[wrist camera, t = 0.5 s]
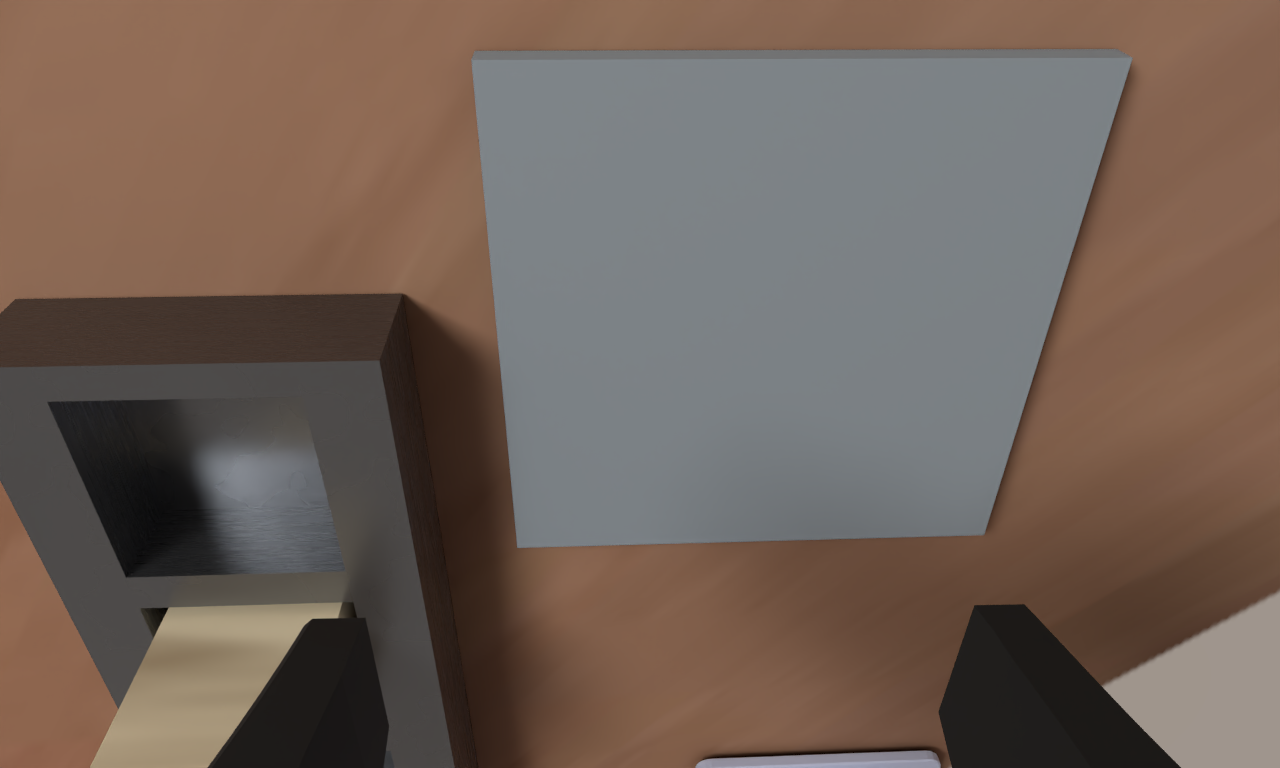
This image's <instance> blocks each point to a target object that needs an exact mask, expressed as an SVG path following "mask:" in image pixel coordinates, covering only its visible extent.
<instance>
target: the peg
mask: <svg viewBox="0 0 1280 768" xmlns="http://www.w3.org/2000/svg"><path fill="white" fill-rule="evenodd" d="M322 618H357V615H356V611H355V607H354V603H353V602H338V603H304V604H271V605H237V606H203V607H170V608H168V610H167V612H166V614H165V616H164V618H163V620H162V622H161V624H160V626H159V628H158V630H157V632H156V634H155V637H154V639H153V641H152V643H151V645H150V647H149V649H148V651H147V653H146V655H145V657H144V659H143V661H142V663H141V665H140V667H139V669H138V671H137V673H136V675H135V677H134V679H133V681H132V683H131V685H130V687H129V689H128V691H127V693H126V695H125V697H124V699H123V701H122V703H121V706H120V708H119V710H118V712H117V714H116V716H115V718H114V720H113V722H112V724H111V726H110V728H109V730H108V732H107V734H106V736H105V738H104V740H103V742H102V744H101V746H100V748H99V750H98V752H97V754H96V756H95V758H94V760H93V762H92V764H91V766H90V768H207V767H208V766H209V765H210V763H211V762H212V761H213V759H214V758H215V757H216V755H217V754H218V752H219V751H220V750H221V748H222V747H223V746H224V744H225V743H226V741H227V740H228V739H229V737H230V736H231V735H232V733H233V732H234V730H235V729H236V728H237V726H238V725H239V723H240V722H241V720H242V719H243V717H244V716H245V715H246V713H247V712H248V710H249V709H250V707H251V706H252V704H253V703H254V702H255V700H256V699H257V697H258V696H259V694H260V693H261V691H262V690H263V688H264V687H265V685H266V684H267V682H268V681H269V679H270V678H271V676H272V675H273V673H274V672H275V670H276V669H277V667H278V666H279V664H280V663H281V661H282V660H283V658H284V656H285V655H286V653H287V652H288V650H289V649H290V647H291V646H292V644H293V642H294V641H295V639H296V638H297V636H298V635H299V633H300V631H301V630H302V628H303V627H304V625H305V624H307V623H308V622H309V621H310V620H311V619H322Z"/></svg>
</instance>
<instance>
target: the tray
mask: <svg viewBox="0 0 1280 768" xmlns="http://www.w3.org/2000/svg"><path fill="white" fill-rule="evenodd" d="M0 481H1V483H2V485H3V487H4V489H5V491H6V493H7V495H8V496H9V498H10V500H11V502H12V504H13V506H14V508H15V510H16V512H17V514H18V516H19V518H20V520H21V522H22V524H23V525H24V527H25V529H26V531H27V533H28V535H29V537H30V539H31V541H32V543H33V545H34V547H35V549H36V551H37V553H38V554H39V556H40V558H41V560H42V562H43V564H44V566H45V568H46V570H47V572H48V574H49V576H50V578H51V580H52V582H53V583H54V585H55V587H56V589H57V591H58V593H59V595H60V597H61V599H62V601H63V603H64V605H65V607H66V609H67V611H68V612H69V614H70V616H71V618H72V620H73V622H74V624H75V626H76V628H77V630H78V632H79V634H80V636H81V638H82V640H83V642H84V643H85V645H86V647H87V649H88V651H89V653H90V655H91V657H92V659H93V661H94V663H95V665H96V667H97V669H98V671H99V672H100V674H101V676H102V678H103V680H104V682H105V684H106V686H107V688H108V690H109V692H110V694H111V696H112V698H113V700H114V701H115V703H116V705H117V707H118V709H119V708H120V706H121V703H122V701H123V699H124V697H125V695H126V693H127V691H128V689H129V687H130V685H131V683H132V681H133V679H134V677H135V675H136V673H137V671H138V669H139V667H140V665H141V663H142V661H143V659H144V657H145V655H146V653H147V651H148V649H149V647H150V645H151V643H152V641H153V639H154V637H155V634H156V632H157V630H158V628H159V626H160V624H161V622H162V620H163V618H164V616H165V614H166V612H167V610H168V608H170V607H203V606H237V605H271V604H304V603H338V602H353V603H354V607H355V611H356V615H357V618H366V622H367V627H368V631H369V636H370V641H371V645H372V650H373V654H374V659H375V663H376V668H377V673H378V677H379V682H380V686H381V691H382V696H383V700H384V705H385V709H386V714H387V719H388V723H389V731H388V739H387V746H386V754H385V761H384V768H478V764H477V758H476V752H475V746H474V739H473V733H472V727H471V721H470V714H469V708H468V702H467V695H466V689H465V683H464V677H463V670H462V664H461V658H460V652H459V645H458V639H457V633H456V626H455V620H454V614H453V608H452V601H451V595H450V589H449V583H448V576H447V570H446V564H445V557H444V551H443V545H442V539H441V532H440V526H439V520H438V514H437V507H436V501H435V495H434V488H433V482H432V476H431V470H430V463H429V457H428V451H427V445H426V438H425V432H424V426H423V419H422V413H421V407H420V401H419V394H418V388H417V382H416V376H415V369H414V363H413V357H412V350H411V344H410V338H409V332H408V325H407V319H406V313H405V307H404V300H403V294H347V295H279V296H211V297H143V298H75V299H15V300H14V301H13V302H12V303H11V304H10V305H9V306H8V307H7V308H6V309H5V310H4V311H3V312H1V313H0Z"/></svg>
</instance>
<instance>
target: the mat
mask: <svg viewBox="0 0 1280 768" xmlns="http://www.w3.org/2000/svg"><path fill="white" fill-rule="evenodd" d="M471 61H472V71H473V82H474V93H475V103H476V114H477V124H478V135H479V146H480V156H481V167H482V178H483V188H484V199H485V209H486V220H487V231H488V241H489V252H490V263H491V273H492V284H493V294H494V305H495V316H496V326H497V337H498V347H499V358H500V369H501V379H502V390H503V401H504V411H505V422H506V432H507V443H508V454H509V464H510V475H511V485H512V496H513V507H514V517H515V528H516V539H517V548H529V547H565V546H602V545H639V544H675V543H712V542H748V541H785V540H822V539H858V538H895V537H931V536H968V535H984V534H985V530H986V527H987V524H988V521H989V518H990V514H991V511H992V508H993V505H994V501H995V498H996V495H997V492H998V489H999V485H1000V482H1001V479H1002V476H1003V473H1004V469H1005V466H1006V463H1007V460H1008V457H1009V453H1010V450H1011V447H1012V444H1013V440H1014V437H1015V434H1016V431H1017V428H1018V424H1019V421H1020V418H1021V415H1022V412H1023V408H1024V405H1025V402H1026V399H1027V396H1028V392H1029V389H1030V386H1031V383H1032V379H1033V376H1034V373H1035V370H1036V367H1037V363H1038V360H1039V357H1040V354H1041V351H1042V347H1043V344H1044V341H1045V338H1046V335H1047V331H1048V328H1049V325H1050V322H1051V318H1052V315H1053V312H1054V309H1055V306H1056V302H1057V299H1058V296H1059V293H1060V290H1061V286H1062V283H1063V280H1064V277H1065V274H1066V270H1067V267H1068V264H1069V261H1070V257H1071V254H1072V251H1073V248H1074V245H1075V241H1076V238H1077V235H1078V232H1079V229H1080V225H1081V222H1082V219H1083V216H1084V213H1085V209H1086V206H1087V203H1088V200H1089V196H1090V193H1091V190H1092V187H1093V184H1094V180H1095V177H1096V174H1097V171H1098V168H1099V164H1100V161H1101V158H1102V155H1103V152H1104V148H1105V145H1106V142H1107V139H1108V135H1109V132H1110V129H1111V126H1112V123H1113V119H1114V116H1115V113H1116V110H1117V107H1118V103H1119V100H1120V97H1121V94H1122V91H1123V87H1124V84H1125V81H1126V78H1127V74H1128V71H1129V68H1130V65H1131V62H1132V57H1130V56H1128V55H1127V54H1125V53H1123V52H1121V51H1119V50H1118V49H982V50H627V51H475V52H474V55H473V57H472V60H471Z"/></svg>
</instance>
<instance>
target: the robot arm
mask: <svg viewBox="0 0 1280 768" xmlns="http://www.w3.org/2000/svg"><path fill="white" fill-rule="evenodd" d="M939 716H940V720H941V724H942V728H943V732H944V736H945V741H946V745H947V749H948V753H949V757H950V761H951V765H952V768H1181V767H1180V766H1179V765H1178V764H1177V763H1176V762H1175V761H1174V760H1173V759H1172V758H1171V757H1170V756H1168V754H1167V753H1166V752H1165V751H1164V750H1163V749H1162V748H1161V747H1160V746H1159V745H1158V744H1157V743H1156V742H1155V741H1154V740H1153V739H1152V738H1151V737H1150V736H1149V735H1148V734H1147V733H1146V732H1145V731H1144V730H1143V729H1142V728H1141V727H1140V726H1139V725H1138V724H1137V723H1136V722H1135V721H1134V720H1133V719H1132V718H1131V717H1130V716H1129V715H1128V714H1127V713H1126V712H1125V711H1124V710H1123V708H1121V706H1120V705H1119V704H1118V703H1117V702H1116V701H1115V700H1114V699H1113V698H1112V697H1111V696H1110V695H1109V694H1108V693H1107V692H1106V691H1105V690H1104V688H1103V687H1102V686H1101V685H1100V684H1099V683H1098V682H1097V681H1096V680H1095V679H1094V678H1093V677H1092V676H1091V675H1090V674H1089V673H1088V672H1087V670H1086V669H1085V668H1084V667H1083V666H1082V665H1081V664H1080V663H1079V662H1078V661H1077V660H1076V659H1075V658H1074V657H1073V656H1072V654H1071V653H1070V652H1069V651H1068V650H1067V649H1066V648H1065V647H1064V646H1063V645H1062V644H1061V643H1060V642H1059V641H1058V640H1057V638H1056V637H1055V636H1054V635H1053V634H1052V633H1051V632H1050V631H1049V630H1048V629H1047V628H1046V627H1045V626H1044V625H1043V624H1042V623H1041V621H1040V620H1039V619H1038V618H1037V617H1036V616H1035V615H1034V614H1033V613H1032V612H1031V611H1030V610H1029V609H1028V608H1027V607H1026V606H1025V605H1024V604H1022V605H975V606H974V609H973V612H972V614H971V617H970V620H969V623H968V626H967V629H966V632H965V635H964V638H963V641H962V644H961V647H960V650H959V653H958V656H957V659H956V662H955V665H954V668H953V671H952V674H951V677H950V680H949V683H948V685H947V688H946V691H945V694H944V697H943V700H942V703H941V706H940V709H939ZM388 731H389V723H388V719H387V714H386V709H385V705H384V700H383V696H382V691H381V686H380V682H379V677H378V673H377V668H376V663H375V659H374V654H373V650H372V645H371V641H370V636H369V631H368V627H367V622H366V618H322V619H311V620H310V621H309V622H308V623H307V624H305V625H304V627H303V628H302V630H301V631H300V633H299V635H298V636H297V638H296V639H295V641H294V642H293V644H292V646H291V647H290V649H289V650H288V652H287V653H286V655H285V656H284V658H283V660H282V661H281V663H280V664H279V666H278V667H277V669H276V670H275V672H274V673H273V675H272V676H271V678H270V679H269V681H268V682H267V684H266V685H265V687H264V688H263V690H262V691H261V693H260V694H259V696H258V697H257V699H256V700H255V702H254V703H253V704H252V706H251V707H250V709H249V710H248V712H247V713H246V715H245V716H244V717H243V719H242V720H241V722H240V723H239V725H238V726H237V728H236V729H235V730H234V732H233V733H232V735H231V736H230V737H229V739H228V740H227V741H226V743H225V744H224V746H223V747H222V748H221V750H220V751H219V752H218V754H217V755H216V757H215V758H214V759H213V761H212V762H211V763H210V765H209V766H208V767H207V768H384V761H385V754H386V746H387V739H388ZM695 768H941V764H940V761H939V758H938V756H937V754H936V753H934V752H932V751H927V750H920V751H894V752H868V753H841V754H815V755H789V756H763V757H736V758H711V759H705V760H703V761H700V762H699V763H698V764H697V765H696V767H695Z"/></svg>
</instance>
